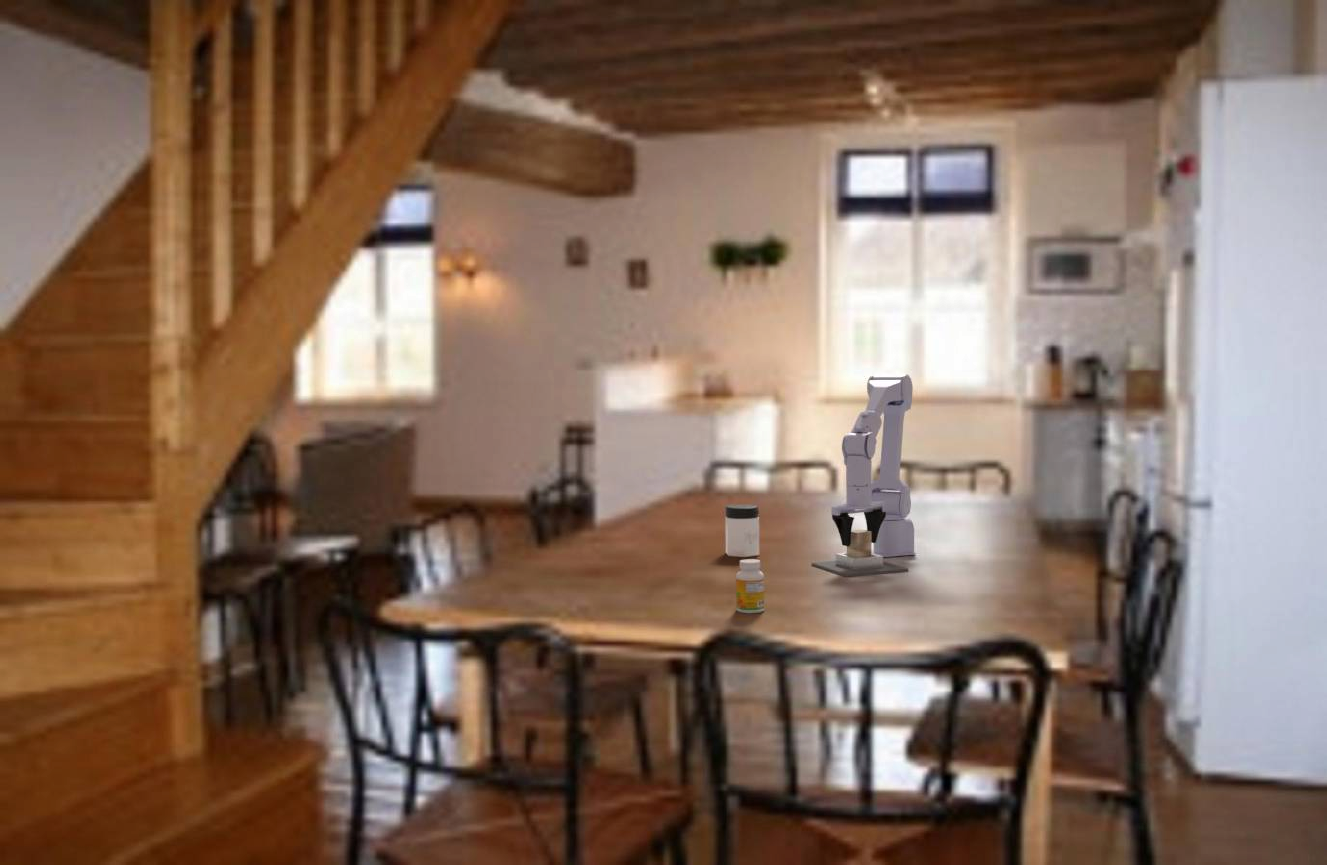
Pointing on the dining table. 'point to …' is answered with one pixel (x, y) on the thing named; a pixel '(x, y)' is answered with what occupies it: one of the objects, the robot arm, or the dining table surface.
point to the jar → (742, 530)
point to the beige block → (860, 544)
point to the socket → (859, 561)
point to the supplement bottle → (750, 587)
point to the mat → (848, 572)
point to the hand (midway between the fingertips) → (859, 544)
